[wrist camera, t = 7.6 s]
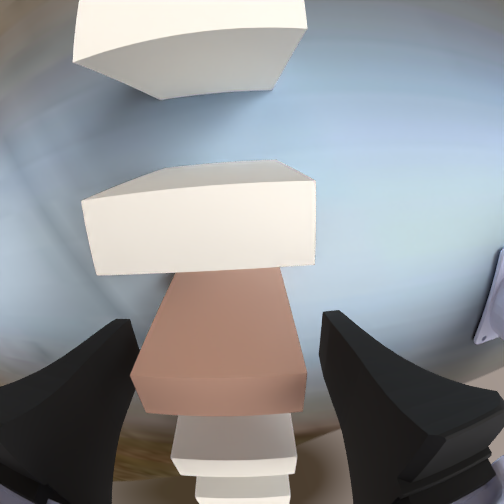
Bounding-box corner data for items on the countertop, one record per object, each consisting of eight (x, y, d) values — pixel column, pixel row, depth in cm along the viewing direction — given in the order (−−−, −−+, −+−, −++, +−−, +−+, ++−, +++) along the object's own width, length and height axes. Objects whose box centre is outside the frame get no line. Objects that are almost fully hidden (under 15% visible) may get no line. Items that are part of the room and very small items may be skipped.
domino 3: (177, 268, 14) (129, 375, 7) (278, 263, 14) (307, 372, 7) (182, 299, 15) (146, 412, 8) (278, 295, 15) (302, 411, 8)
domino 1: (159, 64, 11) (79, 0, 4) (270, 54, 11) (298, -34, 4) (160, 100, 11) (72, 62, 4) (272, 90, 11) (307, 28, 4)
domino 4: (192, 347, 16) (170, 457, 9) (279, 343, 16) (297, 456, 9) (197, 369, 17) (180, 474, 10) (279, 365, 17) (294, 473, 10)
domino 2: (165, 167, 13) (80, 200, 6) (275, 159, 13) (316, 180, 6) (169, 205, 13) (96, 275, 6) (277, 198, 13) (314, 264, 6)
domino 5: (204, 401, 18) (194, 496, 11) (278, 398, 18) (290, 495, 11) (208, 416, 19) (201, 506, 12) (278, 413, 19) (289, 504, 12)
